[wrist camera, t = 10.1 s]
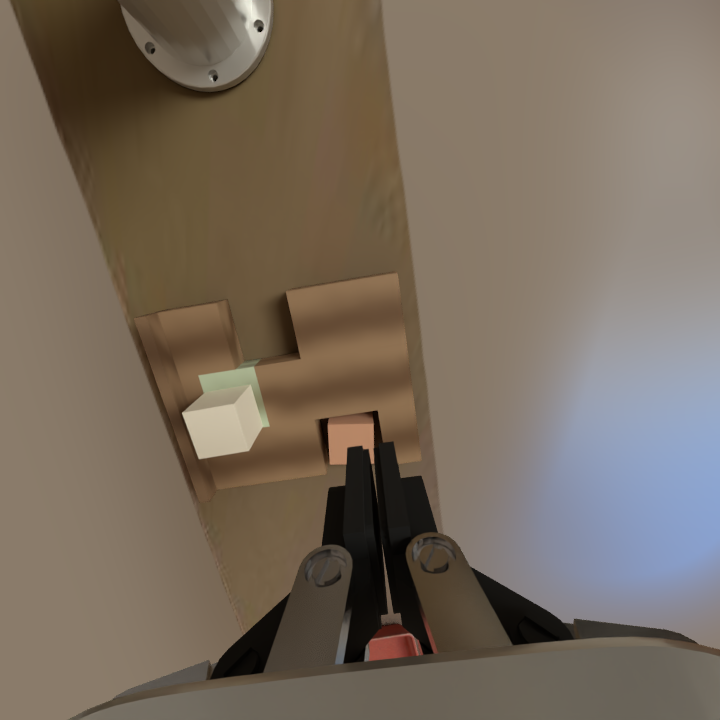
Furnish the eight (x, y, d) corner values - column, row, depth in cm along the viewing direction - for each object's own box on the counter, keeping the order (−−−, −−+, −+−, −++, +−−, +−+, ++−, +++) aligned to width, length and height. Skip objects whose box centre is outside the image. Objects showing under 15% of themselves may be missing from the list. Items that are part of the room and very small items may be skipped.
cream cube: (205, 392, 36) (181, 412, 32) (250, 384, 36) (234, 403, 31) (219, 433, 38) (198, 459, 33) (263, 426, 38) (248, 451, 33)
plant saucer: (322, 708, 56) (320, 735, 53) (291, 630, 51) (286, 654, 48) (431, 691, 55) (435, 717, 52) (409, 609, 50) (413, 633, 47)
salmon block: (330, 410, 41) (327, 424, 37) (372, 409, 41) (373, 423, 37) (332, 447, 42) (329, 464, 39) (372, 447, 42) (374, 463, 39)
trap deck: (162, 310, 37) (133, 318, 32) (394, 271, 36) (399, 273, 31) (217, 475, 43) (199, 502, 38) (417, 446, 42) (424, 471, 37)
